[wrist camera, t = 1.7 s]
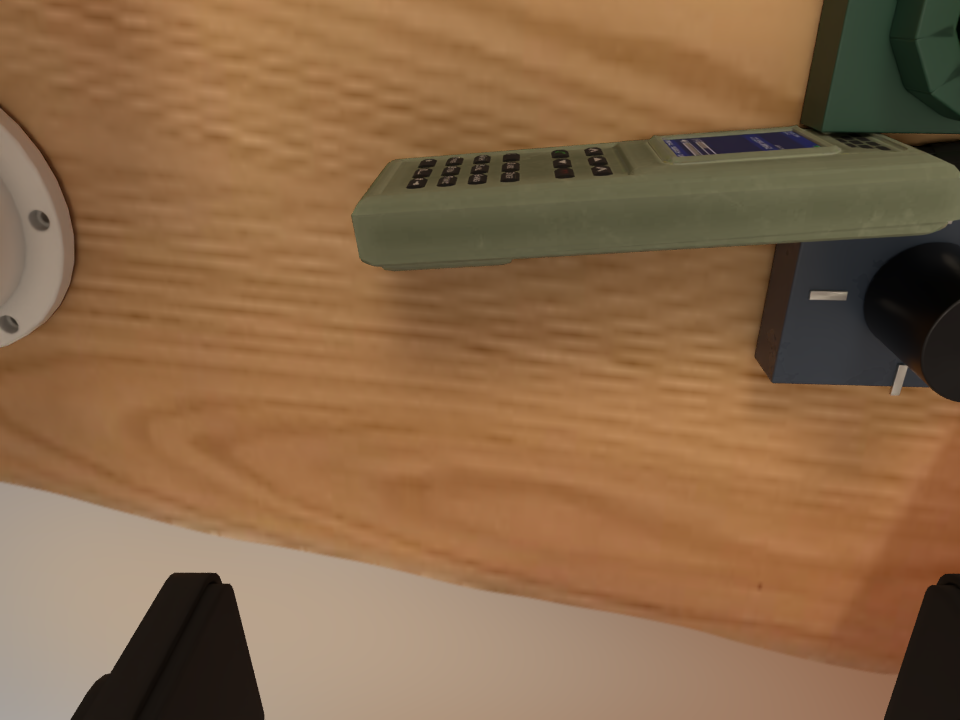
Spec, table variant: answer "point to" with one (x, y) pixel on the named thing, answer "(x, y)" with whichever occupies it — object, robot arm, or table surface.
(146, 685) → the robot arm
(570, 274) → the table surface
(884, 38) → the green button base
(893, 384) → the nozzle panel
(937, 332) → the knob
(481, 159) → the handheld radio
